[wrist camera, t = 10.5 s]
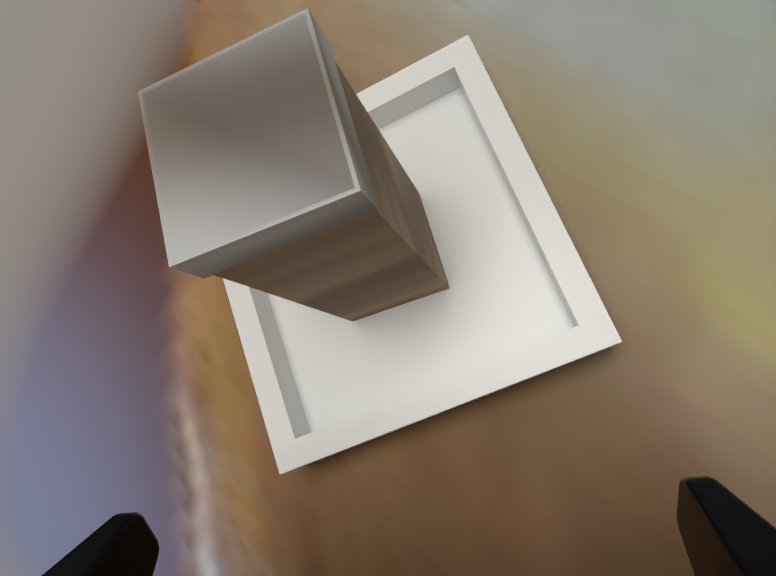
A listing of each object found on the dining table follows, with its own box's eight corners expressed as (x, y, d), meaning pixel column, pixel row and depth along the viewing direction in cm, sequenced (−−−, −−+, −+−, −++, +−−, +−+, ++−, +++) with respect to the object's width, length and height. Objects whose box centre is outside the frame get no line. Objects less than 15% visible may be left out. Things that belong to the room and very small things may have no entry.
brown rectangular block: (452, 289, 20) (360, 190, 10) (351, 324, 21) (169, 267, 11) (420, 190, 21) (308, 8, 11) (325, 227, 22) (138, 91, 12)
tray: (612, 346, 19) (622, 341, 17) (308, 464, 22) (279, 474, 19) (475, 71, 23) (467, 34, 20) (226, 199, 25) (194, 180, 23)
